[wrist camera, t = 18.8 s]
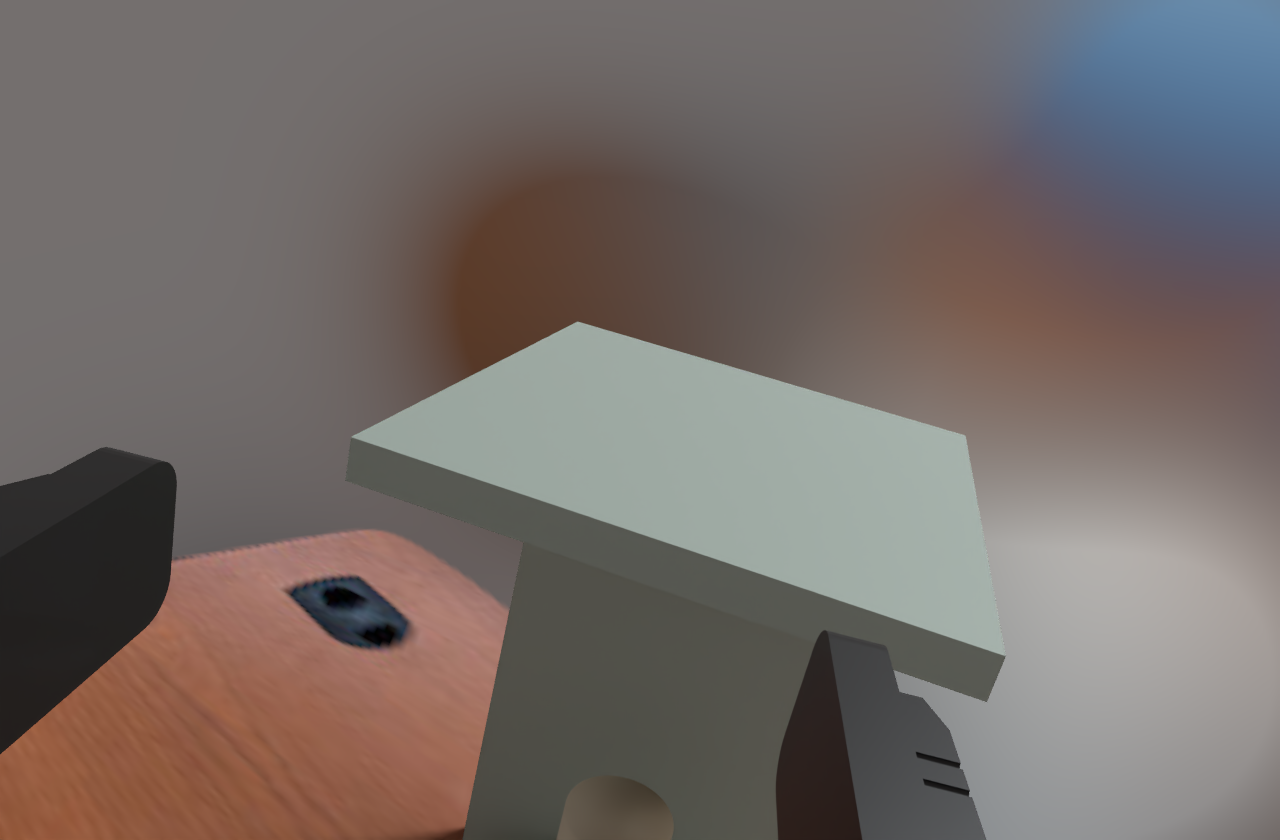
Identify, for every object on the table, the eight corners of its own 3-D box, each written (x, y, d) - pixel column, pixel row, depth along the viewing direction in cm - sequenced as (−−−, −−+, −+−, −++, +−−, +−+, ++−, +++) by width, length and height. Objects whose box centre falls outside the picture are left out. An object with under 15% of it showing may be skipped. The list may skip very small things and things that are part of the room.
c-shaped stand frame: (256, 1156, 32) (350, 437, 23) (472, 825, 48) (577, 321, 39) (704, 1384, 29) (1005, 656, 20) (777, 950, 45) (965, 435, 36)
